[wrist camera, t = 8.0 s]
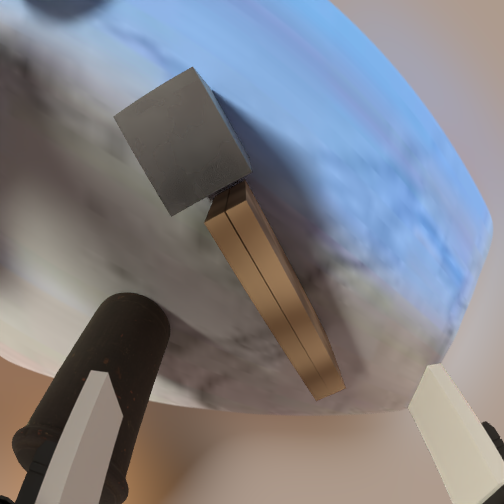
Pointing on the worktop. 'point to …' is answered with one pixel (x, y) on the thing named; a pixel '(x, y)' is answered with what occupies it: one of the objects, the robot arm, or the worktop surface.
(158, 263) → the worktop surface
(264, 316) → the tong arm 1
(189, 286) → the worktop surface
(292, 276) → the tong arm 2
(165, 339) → the container
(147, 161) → the grey angled block
